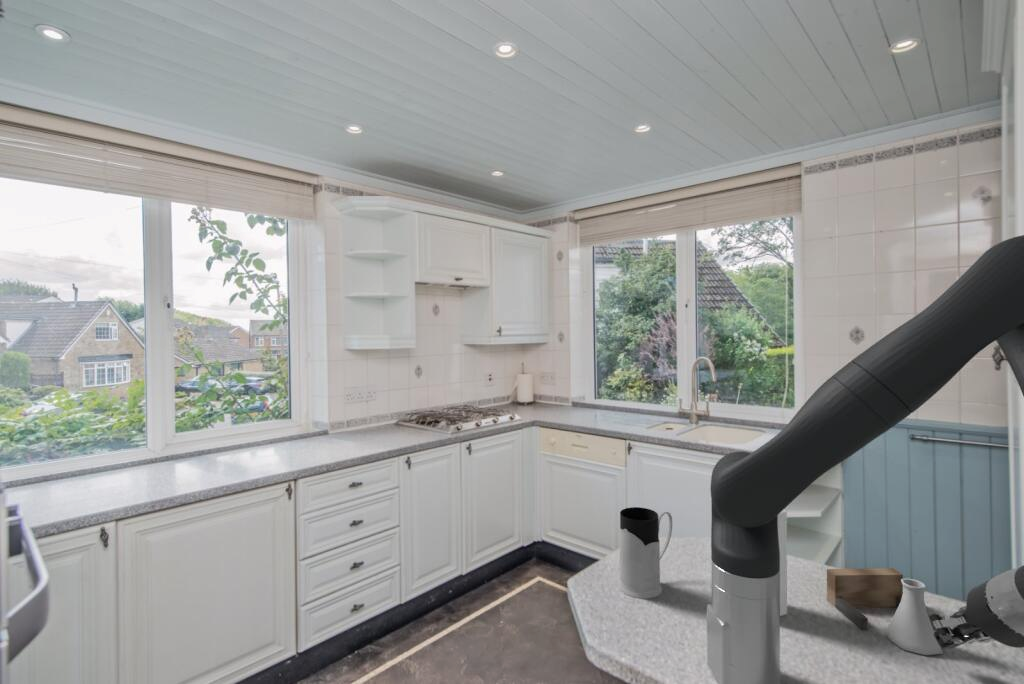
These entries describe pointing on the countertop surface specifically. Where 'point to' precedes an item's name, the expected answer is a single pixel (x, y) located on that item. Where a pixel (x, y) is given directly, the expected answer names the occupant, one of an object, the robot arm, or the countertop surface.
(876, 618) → the countertop surface
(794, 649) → the countertop surface
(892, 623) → the flask
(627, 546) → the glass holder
